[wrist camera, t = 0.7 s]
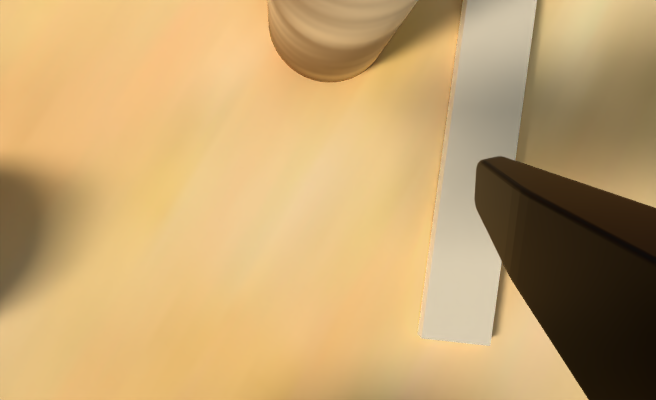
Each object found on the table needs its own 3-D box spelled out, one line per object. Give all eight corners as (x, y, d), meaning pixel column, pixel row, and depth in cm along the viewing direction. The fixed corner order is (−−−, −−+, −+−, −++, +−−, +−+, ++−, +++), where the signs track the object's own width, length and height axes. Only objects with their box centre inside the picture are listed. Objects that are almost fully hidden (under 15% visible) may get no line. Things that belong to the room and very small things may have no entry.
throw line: (484, 341, 22) (490, 345, 21) (417, 334, 21) (421, 338, 21) (533, -24, 22) (541, -30, 21) (467, -37, 21) (473, -43, 21)
